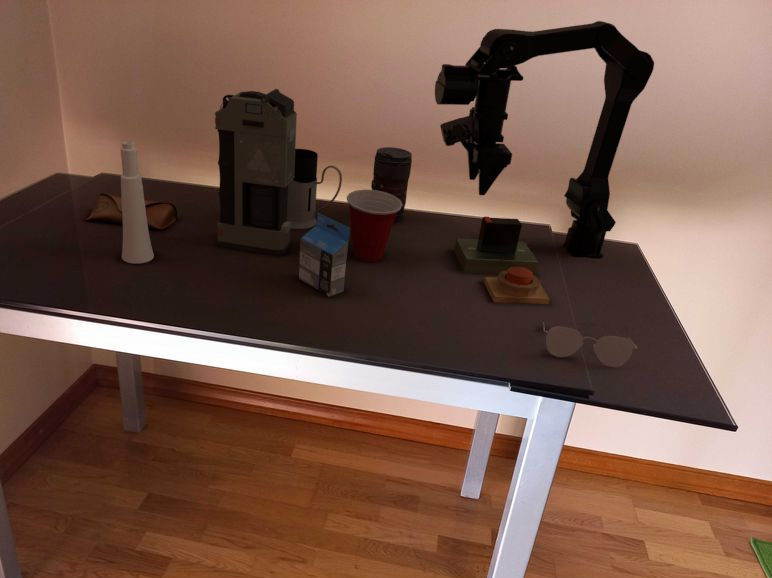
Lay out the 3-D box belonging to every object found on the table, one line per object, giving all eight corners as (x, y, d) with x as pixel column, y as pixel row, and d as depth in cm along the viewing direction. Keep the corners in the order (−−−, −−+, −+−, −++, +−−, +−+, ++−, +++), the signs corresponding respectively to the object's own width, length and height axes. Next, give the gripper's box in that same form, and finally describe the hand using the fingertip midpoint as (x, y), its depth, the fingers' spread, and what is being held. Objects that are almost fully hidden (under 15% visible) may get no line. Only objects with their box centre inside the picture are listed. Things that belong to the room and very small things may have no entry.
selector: (511, 247, 139) (518, 217, 136) (515, 253, 137) (522, 223, 133) (477, 245, 139) (482, 216, 136) (480, 251, 136) (486, 221, 133)
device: (293, 243, 143) (299, 91, 127) (282, 258, 136) (287, 99, 121) (228, 233, 146) (227, 83, 130) (215, 247, 139) (211, 91, 124)
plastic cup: (367, 272, 133) (374, 212, 126) (330, 253, 140) (334, 195, 133) (406, 259, 139) (414, 201, 133) (369, 241, 146) (375, 185, 139)
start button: (526, 275, 129) (528, 267, 128) (533, 286, 125) (535, 277, 124) (503, 274, 129) (505, 266, 128) (509, 285, 125) (511, 276, 124)
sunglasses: (538, 353, 110) (545, 324, 108) (537, 335, 118) (544, 308, 116) (631, 370, 107) (640, 340, 105) (624, 351, 115) (632, 323, 113)
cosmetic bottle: (145, 248, 137) (136, 136, 125) (159, 259, 133) (151, 144, 121) (116, 255, 134) (104, 140, 122) (129, 266, 130) (118, 149, 118)
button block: (535, 284, 132) (539, 270, 130) (548, 304, 125) (552, 289, 123) (483, 282, 132) (486, 268, 130) (493, 302, 125) (496, 287, 123)
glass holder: (288, 211, 158) (290, 145, 150) (345, 224, 153) (351, 156, 145) (270, 223, 152) (271, 155, 144) (329, 237, 147) (334, 167, 139)
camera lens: (392, 227, 153) (400, 159, 145) (362, 217, 157) (368, 151, 149) (410, 217, 159) (419, 152, 151) (381, 208, 163) (387, 144, 155)
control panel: (520, 253, 144) (523, 239, 143) (535, 277, 135) (539, 262, 133) (453, 250, 144) (455, 236, 142) (464, 274, 134) (467, 259, 133)
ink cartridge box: (297, 279, 129) (300, 216, 122) (313, 274, 131) (317, 211, 124) (328, 297, 123) (333, 232, 117) (345, 292, 125) (350, 227, 119)
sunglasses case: (83, 219, 147) (87, 188, 147) (98, 225, 154) (102, 195, 154) (163, 230, 144) (168, 198, 144) (174, 235, 151) (179, 205, 151)
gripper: (439, 92, 136) (429, 171, 144) (456, 115, 120) (443, 202, 128) (495, 94, 136) (482, 172, 144) (520, 118, 120) (503, 204, 129)
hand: (476, 187), depth 136 cm, fingers open, 9 cm apart
